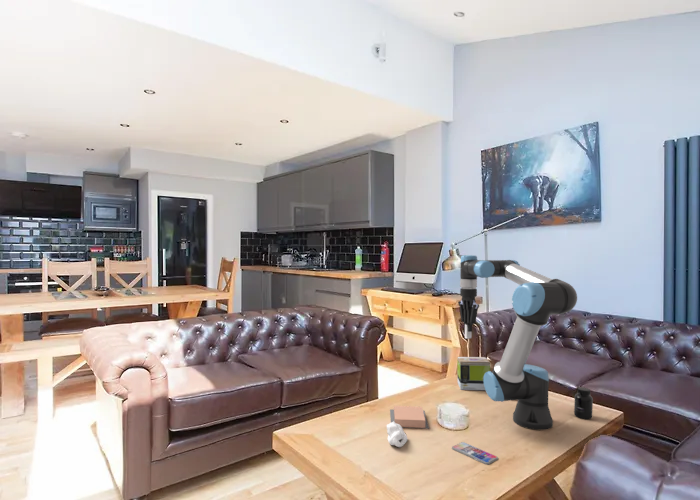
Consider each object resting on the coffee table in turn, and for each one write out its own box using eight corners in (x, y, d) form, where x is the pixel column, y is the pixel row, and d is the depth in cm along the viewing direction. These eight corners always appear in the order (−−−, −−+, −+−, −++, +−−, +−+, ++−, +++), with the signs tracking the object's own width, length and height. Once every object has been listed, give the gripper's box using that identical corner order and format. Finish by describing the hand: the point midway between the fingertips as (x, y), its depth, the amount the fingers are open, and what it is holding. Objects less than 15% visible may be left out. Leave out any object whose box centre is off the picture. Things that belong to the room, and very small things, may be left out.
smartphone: (462, 441, 157) (499, 456, 145) (462, 443, 157) (499, 459, 145) (450, 446, 152) (487, 463, 140) (450, 449, 152) (487, 466, 140)
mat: (389, 410, 186) (389, 409, 186) (424, 411, 185) (424, 410, 185) (391, 428, 168) (391, 427, 168) (429, 430, 167) (429, 428, 167)
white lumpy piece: (399, 452, 150) (385, 431, 151) (386, 450, 160) (374, 431, 161) (416, 436, 153) (403, 416, 155) (403, 436, 164) (390, 416, 165)
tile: (393, 405, 182) (394, 419, 168) (421, 406, 181) (425, 420, 167) (393, 413, 182) (394, 427, 168) (421, 414, 181) (425, 428, 167)
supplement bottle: (575, 418, 179) (575, 390, 179) (573, 412, 185) (573, 385, 185) (593, 421, 176) (594, 392, 176) (591, 414, 183) (591, 387, 183)
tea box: (486, 384, 222) (486, 356, 221) (490, 391, 212) (490, 361, 211) (456, 383, 223) (457, 355, 223) (460, 390, 213) (460, 361, 213)
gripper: (484, 289, 194) (483, 340, 194) (466, 286, 206) (466, 334, 206) (470, 289, 191) (470, 341, 191) (453, 286, 203) (453, 335, 203)
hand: (468, 338), depth 199 cm, fingers closed
